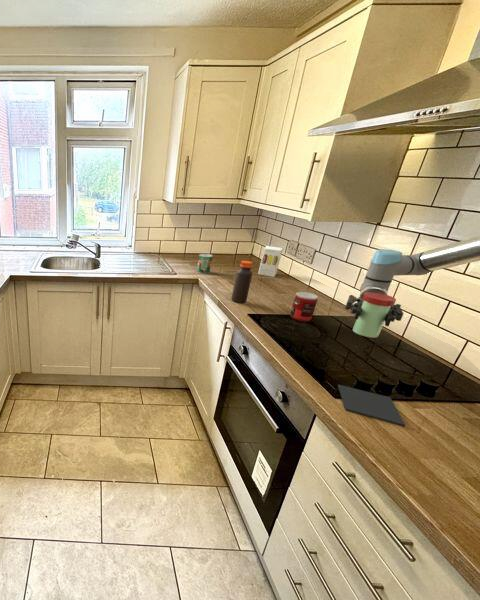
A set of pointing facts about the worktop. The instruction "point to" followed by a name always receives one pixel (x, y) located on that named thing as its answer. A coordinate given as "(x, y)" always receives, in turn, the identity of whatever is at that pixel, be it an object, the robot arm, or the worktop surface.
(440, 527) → the worktop surface
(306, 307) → the canned food
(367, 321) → the jar
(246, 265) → the bottle
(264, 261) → the supplement box
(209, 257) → the canned tomato
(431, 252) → the robot arm
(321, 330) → the worktop surface
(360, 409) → the coaster
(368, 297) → the lid
